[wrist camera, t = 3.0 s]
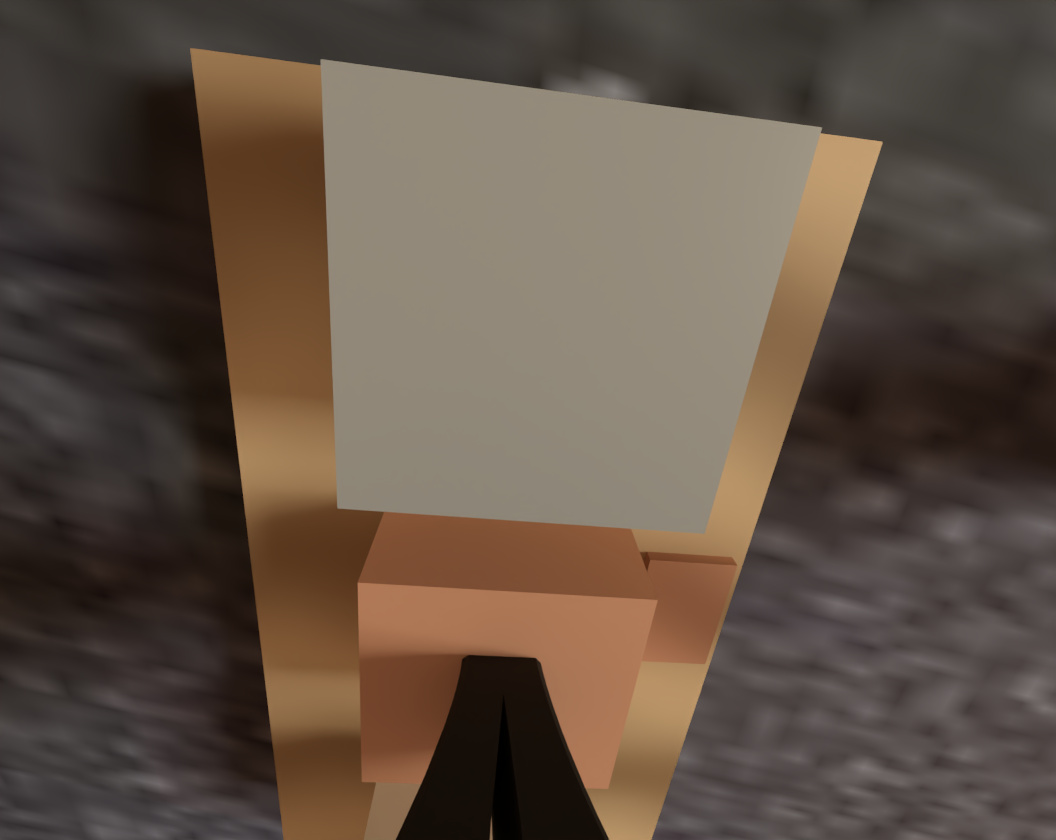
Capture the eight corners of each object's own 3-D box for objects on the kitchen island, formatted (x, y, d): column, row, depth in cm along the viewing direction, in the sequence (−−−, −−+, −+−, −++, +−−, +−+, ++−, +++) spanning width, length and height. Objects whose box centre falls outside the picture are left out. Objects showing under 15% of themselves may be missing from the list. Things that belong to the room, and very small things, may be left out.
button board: (631, 789, 18) (657, 906, 15) (308, 780, 17) (266, 903, 14) (817, 151, 11) (942, 133, 8) (249, 75, 10) (133, 21, 7)
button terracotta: (592, 695, 13) (608, 789, 11) (385, 687, 12) (361, 782, 10) (629, 525, 11) (658, 600, 9) (385, 507, 11) (357, 582, 9)
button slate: (661, 460, 9) (704, 533, 7) (374, 437, 9) (337, 509, 7) (735, 145, 7) (822, 128, 5) (373, 98, 7) (320, 59, 5)
